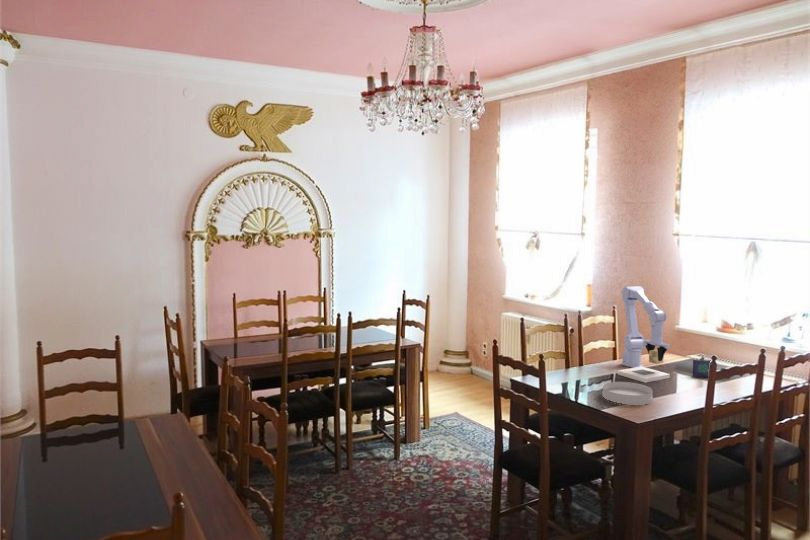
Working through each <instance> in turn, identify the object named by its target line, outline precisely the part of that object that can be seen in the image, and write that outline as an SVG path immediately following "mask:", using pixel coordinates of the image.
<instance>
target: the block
mask: <svg viewBox="0 0 810 540" xmlns="http://www.w3.org/2000/svg"><path fill="white" fill-rule="evenodd" d="M664 359H665V358H664V356H663V359H662V361H658V350H657V349H654V350H650V351H649V354H648V363H651V364H655V365H659V364H660V365H661V364H664Z"/></svg>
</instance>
